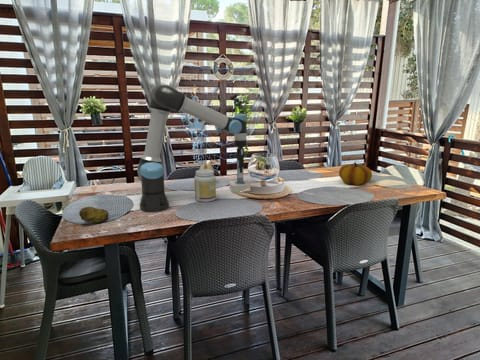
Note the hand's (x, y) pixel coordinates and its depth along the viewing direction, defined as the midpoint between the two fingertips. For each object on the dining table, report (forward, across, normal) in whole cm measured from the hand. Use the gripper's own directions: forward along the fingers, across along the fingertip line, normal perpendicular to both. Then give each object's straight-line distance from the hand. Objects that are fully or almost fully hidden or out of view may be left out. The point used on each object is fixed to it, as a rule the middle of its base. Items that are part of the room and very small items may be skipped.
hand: (240, 176), depth 206 cm
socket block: (+9, 0, 0) cm, 9 cm away
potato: (+9, -43, +77) cm, 89 cm away
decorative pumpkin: (+9, +5, -81) cm, 82 cm away
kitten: (+9, +18, +20) cm, 28 cm away
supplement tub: (+9, -16, +23) cm, 29 cm away
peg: (+4, 0, 0) cm, 4 cm away
